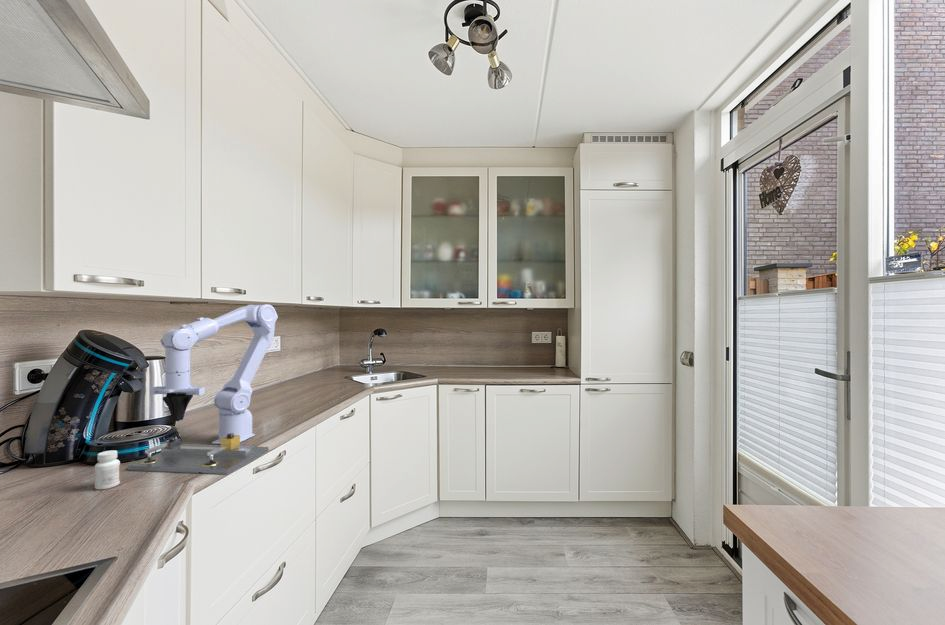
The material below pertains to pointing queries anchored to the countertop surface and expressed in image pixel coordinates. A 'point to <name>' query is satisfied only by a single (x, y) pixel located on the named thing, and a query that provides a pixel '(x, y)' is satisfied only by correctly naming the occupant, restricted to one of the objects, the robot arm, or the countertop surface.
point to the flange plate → (197, 461)
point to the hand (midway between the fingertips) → (178, 420)
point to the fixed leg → (164, 446)
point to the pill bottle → (107, 470)
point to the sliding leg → (226, 444)
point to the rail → (206, 451)
